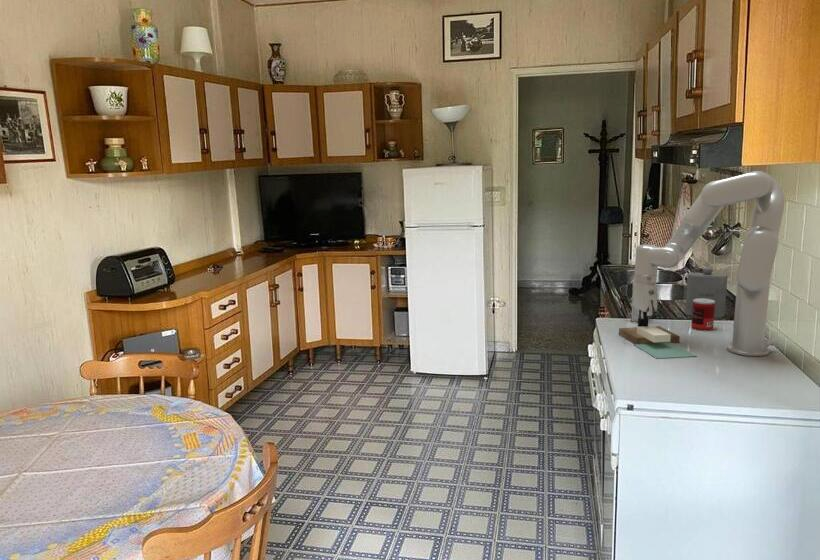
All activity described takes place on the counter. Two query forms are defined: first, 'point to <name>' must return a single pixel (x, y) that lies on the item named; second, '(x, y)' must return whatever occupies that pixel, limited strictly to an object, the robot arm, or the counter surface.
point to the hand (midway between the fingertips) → (642, 328)
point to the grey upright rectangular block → (706, 290)
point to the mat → (664, 350)
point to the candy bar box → (633, 308)
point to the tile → (653, 334)
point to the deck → (638, 339)
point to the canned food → (703, 314)
